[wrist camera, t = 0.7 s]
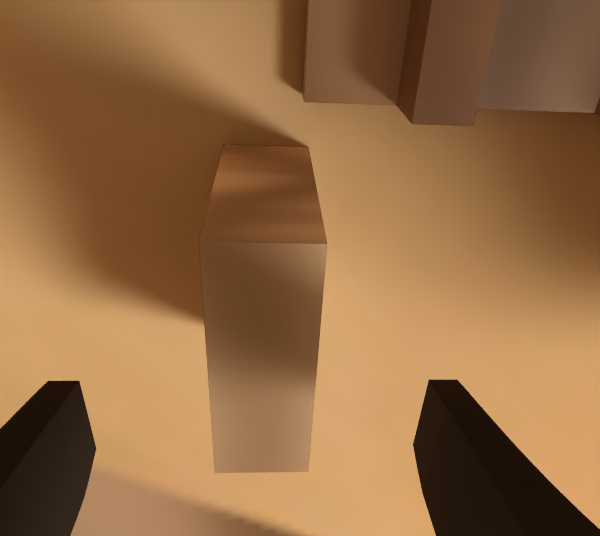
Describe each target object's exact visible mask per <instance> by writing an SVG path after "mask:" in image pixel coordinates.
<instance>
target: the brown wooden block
mask: <svg viewBox="0 0 600 536" xmlns="http://www.w3.org/2000/svg"><path fill="white" fill-rule="evenodd" d="M199 252H200V267H201V281H202V296H203V310H204V325H205V340H206V354H207V369H208V383H209V398H210V413H211V427H212V442H213V456H214V471H215V473H249V472H308V469H309V457H310V445H311V433H312V421H313V409H314V397H315V385H316V373H317V361H318V349H319V337H320V325H321V313H322V301H323V289H324V277H325V265H326V253H327V240H326V235H325V230H324V225H323V219H322V214H321V209H320V204H319V199H318V194H317V188H316V183H315V178H314V173H313V168H312V163H311V157H310V152H309V147H293V146H259V145H225V144H224V145H223V149H222V153H221V157H220V161H219V165H218V169H217V173H216V177H215V180H214V184H213V188H212V192H211V196H210V200H209V204H208V208H207V212H206V216H205V220H204V224H203V227H202V231H201V235H200V239H199Z"/></svg>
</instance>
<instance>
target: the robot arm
mask: <svg viewBox="0 0 600 536" xmlns="http://www.w3.org/2000/svg"><path fill="white" fill-rule="evenodd" d="M413 447H414V452H415V457H416V463H417V468H418V473H419V478H420V483H421V488H422V492H423V496H424V499H425V502H426V505H427V508H428V512H429V515H430V518H431V521H432V524H433V527H434V531H435V534H436V536H600V529H599V528H598V527H596V526H595V525H594V524H593V523H592V522H591V521H590V520H589V519H588V518H587V517H586V516H584V515H583V514H582V513H581V512H580V511H579V510H578V509H577V508H576V507H575V506H574V505H573V504H572V503H571V502H570V501H569V500H568V499H567V498H566V497H565V496H564V495H563V494H562V493H561V492H560V491H559V490H558V489H557V488H556V487H555V486H554V485H553V484H552V483H551V482H550V481H549V480H548V479H547V478H546V477H545V476H544V475H543V474H542V473H541V472H540V471H539V470H538V469H537V468H536V467H535V466H534V465H533V464H532V463H531V462H530V460H529V459H528V458H527V457H526V456H525V455H524V454H523V453H522V452H521V451H520V450H519V449H518V448H517V447H516V446H515V444H514V443H513V442H512V441H511V440H510V439H509V438H508V437H507V436H506V435H505V433H504V432H503V431H502V430H501V429H500V428H499V427H498V426H497V424H496V423H495V422H494V421H493V420H492V419H491V418H490V416H489V415H488V414H487V413H486V412H485V411H484V410H483V408H482V407H481V406H480V405H479V404H478V403H477V402H476V400H475V399H474V398H473V397H472V396H471V395H470V394H469V392H468V391H467V390H466V389H465V388H464V387H463V386H462V385H461V383H460V382H459V381H458V380H429V382H428V386H427V390H426V394H425V398H424V402H423V406H422V410H421V415H420V419H419V423H418V427H417V431H416V435H415V439H414V443H413ZM95 451H96V446H95V442H94V438H93V434H92V430H91V426H90V422H89V418H88V414H87V410H86V406H85V402H84V398H83V394H82V390H81V386H80V382H79V381H48V382H47V383H46V384H45V385H43V386H42V387H41V388H40V389H39V390H38V391H37V392H36V393H35V394H34V395H33V396H32V397H31V398H30V399H29V400H28V401H27V402H26V403H25V404H24V405H23V406H22V407H21V408H20V409H19V410H18V411H17V412H16V413H15V414H14V415H13V417H12V418H11V419H10V420H9V421H8V422H7V423H6V424H5V425H4V426H3V427H2V428H1V429H0V536H70V535H71V532H72V529H73V527H74V524H75V522H76V519H77V516H78V513H79V511H80V508H81V505H82V502H83V499H84V496H85V492H86V489H87V485H88V481H89V477H90V473H91V469H92V464H93V460H94V456H95Z"/></svg>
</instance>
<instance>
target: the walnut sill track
mask: <svg viewBox="0 0 600 536" xmlns="http://www.w3.org/2000/svg"><path fill="white" fill-rule="evenodd" d="M303 99H304V102H319V103H348V104H377V105H397V106H398V108H399V109H400V110H401V111H402V112H403V114H404V115H405V116H406V117H407V118H408V120H409V121H410V122H411V123H412V124H429V125H460V126H473V125H474V120H475V116H476V111H477V109H496V110H525V111H553V112H582V113H596V114H598V115H600V0H307V9H306V31H305V53H304V74H303Z"/></svg>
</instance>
